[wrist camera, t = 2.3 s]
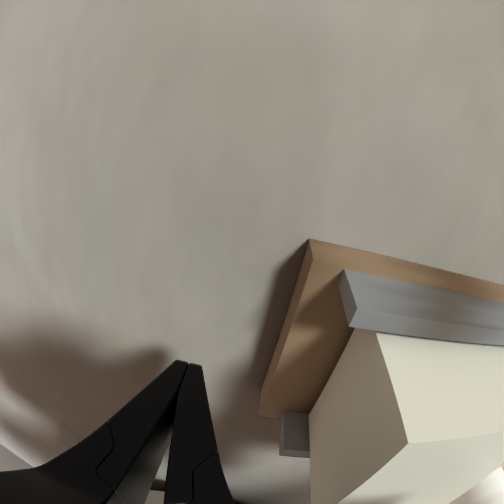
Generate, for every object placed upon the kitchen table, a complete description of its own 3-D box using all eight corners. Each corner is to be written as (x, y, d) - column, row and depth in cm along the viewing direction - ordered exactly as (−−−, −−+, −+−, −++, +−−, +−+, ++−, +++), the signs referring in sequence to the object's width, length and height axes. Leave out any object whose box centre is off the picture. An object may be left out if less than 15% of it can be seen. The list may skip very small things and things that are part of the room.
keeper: (492, 325, 9) (550, 418, 5) (422, 419, 12) (445, 505, 8) (365, 304, 9) (408, 443, 5) (308, 415, 12) (310, 521, 7)
